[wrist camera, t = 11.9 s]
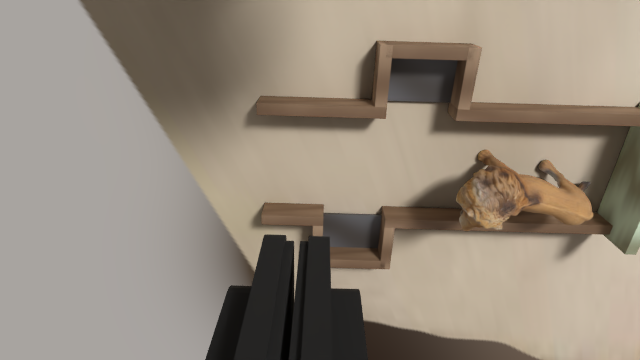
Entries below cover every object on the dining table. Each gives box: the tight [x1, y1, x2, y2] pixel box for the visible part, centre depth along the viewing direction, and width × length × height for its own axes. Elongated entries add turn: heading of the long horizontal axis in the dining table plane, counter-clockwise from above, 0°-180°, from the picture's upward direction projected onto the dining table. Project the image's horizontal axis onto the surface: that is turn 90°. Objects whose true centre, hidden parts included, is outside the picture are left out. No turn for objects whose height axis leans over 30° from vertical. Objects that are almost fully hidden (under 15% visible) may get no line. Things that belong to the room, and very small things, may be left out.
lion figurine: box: [456, 150, 593, 231], centre depth 35 cm, size 15×5×9 cm, turn 86°
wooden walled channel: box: [256, 41, 640, 269], centre depth 36 cm, size 22×35×5 cm, turn 88°
